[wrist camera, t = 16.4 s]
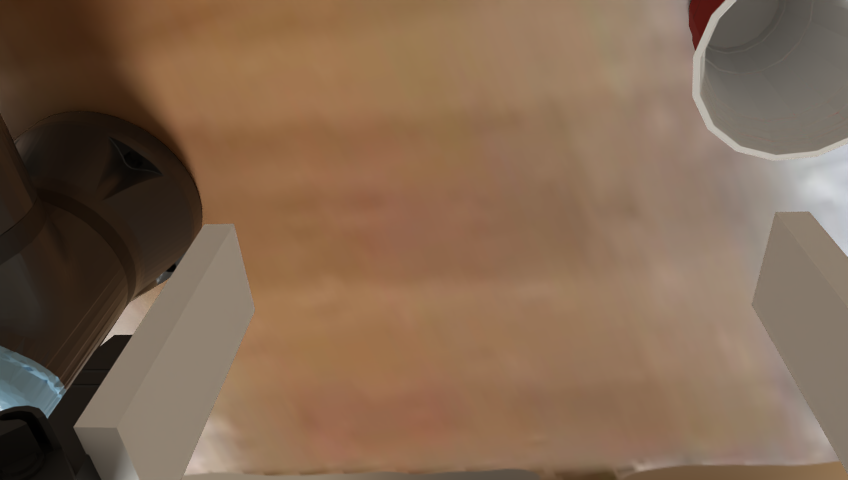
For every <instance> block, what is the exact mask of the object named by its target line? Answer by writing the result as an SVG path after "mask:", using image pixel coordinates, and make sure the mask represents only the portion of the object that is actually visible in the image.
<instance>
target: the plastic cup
mask: <svg viewBox="0 0 848 480" xmlns="http://www.w3.org/2000/svg"><path fill="white" fill-rule="evenodd" d="M689 27H690V30H691V33H692V36H693V37H692V41H693V44H694V48H695V53H694V56H693V91H692V97H693V99H694V101H695V103H696V105H697V107H698V109H699V112H700V114H701V116H702V118H703V120H704V122H705V124H706V126H707V129H708V130H710V131H711V132H712V133H713V134H715V135H716V136H717V137H719V138H720V139H721V140H722V141H724V142H725V143H726V144H728V145H729V146H730V147H731V148H733V149H734V150H735V151H737V152H741V153H745V154H749V155H753V156H757V157H761V158H765V159H769V160H773V161H777V160H787V159H797V158H807V157H817V156H819V155H822V154H824V153H826V152H829V151H831V150H834V149H836V148H838V147H841V146H843V145H845V144H848V0H692V1H691V3H690V7H689Z"/></svg>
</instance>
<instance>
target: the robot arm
mask: <svg viewBox="0 0 848 480" xmlns="http://www.w3.org/2000/svg"><path fill="white" fill-rule="evenodd" d="M201 227H202V209H201V203H200V198H199V195H198V192H197V190H196V187H195V185H194V183H193V181H192V179H191V177H190V175H189V173H188V172H187V170H186V169H185V167H184V166H183V165H182V163H181V162H180V161H179V160H178V158H177V157H176V156H175V155H174V154H173V153H172V152H171V151H170V150H169V149H168V148H167V147H166V146H165V145H164V144H163V143H161V142H160V141H159V140H158V139H156V138H155V137H154V136H152V135H151V134H149V133H148V132H146V131H144V130H143V129H141V128H139V127H137V126H135V125H133V124H131V123H129V122H127V121H124V120H122V119H119V118H116V117H113V116H110V115H106V114H101V113H95V112H84V111H76V112H66V113H60V114H56V115H53V116H50V117H48V118H45V119H43V120H42V121H40V122H38V123H37V124H35V125H34V126H32V127H31V128H30V129H28V130H27V131H25V132H24V133H23V134H21V135H20V136H19V137H18V138H16V139H15V140H14V141H13V139H12V137H11V135H10V133H9V131H8V129H7V126H6V124H5V122H4V120H3V118H2V116H1V114H0V480H182V477H183V475H184V473H185V470H186V468H187V466H188V464H189V461H190V459H191V457H192V454H193V452H194V450H195V447H196V445H197V443H198V440H199V438H200V436H201V434H202V431H203V429H204V427H205V424H206V422H207V420H208V417H209V415H210V413H211V410H212V408H213V406H214V404H215V401H216V399H217V397H218V394H219V392H220V390H221V387H222V385H223V383H224V380H225V378H226V376H227V374H228V371H229V369H230V367H231V364H232V362H233V360H234V357H235V355H236V353H237V350H238V348H239V346H240V344H241V341H242V339H243V337H244V334H245V332H246V330H247V327H248V325H249V323H250V320H251V318H252V316H253V314H254V311H255V308H254V303H253V299H252V295H251V291H250V287H249V283H248V279H247V275H246V271H245V267H244V263H243V259H242V255H241V251H240V247H239V243H238V239H237V235H236V231H235V227H234V224H204V226H203V227H202V229H201ZM167 279H169V280H168V281H167V283H166V285H165V286H164V288H163V289H162V291H161V292H160V294H159V295H158V297H157V298H156V300H155V302H154V303H153V305H152V306H151V308H150V309H149V311H148V312H147V314H146V316H145V317H144V319H143V320H142V322H141V323H140V325H139V326H138V328H137V329H136V331H135V333H134V334H133V335H114V336H113V337H111V338H110V339H109V340H108V341H106V342H105V343H104V344H103V345H101V344H102V342H103V341H104V339H105V338H106V336H107V335H108V333H109V332H110V330H111V329H112V327H113V326H114V324H115V323H116V321H117V320H118V318H119V317H120V315H121V314H122V312H123V311H124V309H125V308H126V306H127V305H128V304H129V302H131V301H133V300H134V299H136V298H138V297H139V296H141V295H143V294H144V293H146V292H148V291H149V290H151V289H153V288H154V287H156V286H157V285H159V284H161V283H163V282H164V281H166V280H167ZM752 306H753V308H754V310H755V311H756V313H757V315H758V317H759V318H760V320H761V322H762V324H763V325H764V327H765V329H766V331H767V333H768V334H769V336H770V338H771V340H772V341H773V343H774V345H775V347H776V348H777V350H778V352H779V354H780V355H781V357H782V359H783V361H784V363H785V364H786V366H787V368H788V370H789V371H790V373H791V375H792V377H793V378H794V380H795V382H796V384H797V385H798V387H799V389H800V391H801V393H802V394H803V396H804V398H805V400H806V401H807V403H808V405H809V407H810V408H811V410H812V412H813V414H814V415H815V417H816V419H817V421H818V422H819V424H820V426H821V428H822V430H823V431H824V433H825V435H826V437H827V438H828V440H829V442H830V444H831V445H832V447H833V449H834V451H835V452H836V454H837V456H838V458H839V460H840V461H841V463H842V465H843V467H844V468H845V470H846V472H847V474H848V257H847V256H846V255H845V253H844V252H843V251H842V250H841V249H840V248H839V246H838V245H837V244H836V243H835V242H834V240H833V239H832V238H831V237H830V236H829V234H828V233H827V232H826V231H825V230H824V229H823V227H822V226H821V225H820V224H819V223H818V221H817V220H816V219H815V218H814V217H813V215H812V214H811V213H810V212H775V216H774V220H773V224H772V228H771V231H770V235H769V239H768V243H767V247H766V251H765V255H764V259H763V263H762V267H761V271H760V275H759V279H758V282H757V286H756V290H755V294H754V298H753V302H752ZM100 345H101V346H100Z"/></svg>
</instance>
